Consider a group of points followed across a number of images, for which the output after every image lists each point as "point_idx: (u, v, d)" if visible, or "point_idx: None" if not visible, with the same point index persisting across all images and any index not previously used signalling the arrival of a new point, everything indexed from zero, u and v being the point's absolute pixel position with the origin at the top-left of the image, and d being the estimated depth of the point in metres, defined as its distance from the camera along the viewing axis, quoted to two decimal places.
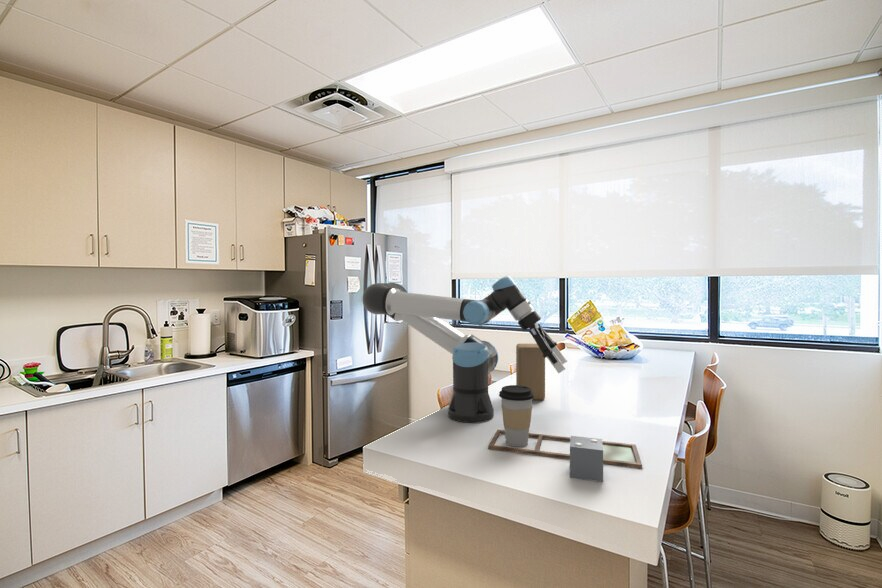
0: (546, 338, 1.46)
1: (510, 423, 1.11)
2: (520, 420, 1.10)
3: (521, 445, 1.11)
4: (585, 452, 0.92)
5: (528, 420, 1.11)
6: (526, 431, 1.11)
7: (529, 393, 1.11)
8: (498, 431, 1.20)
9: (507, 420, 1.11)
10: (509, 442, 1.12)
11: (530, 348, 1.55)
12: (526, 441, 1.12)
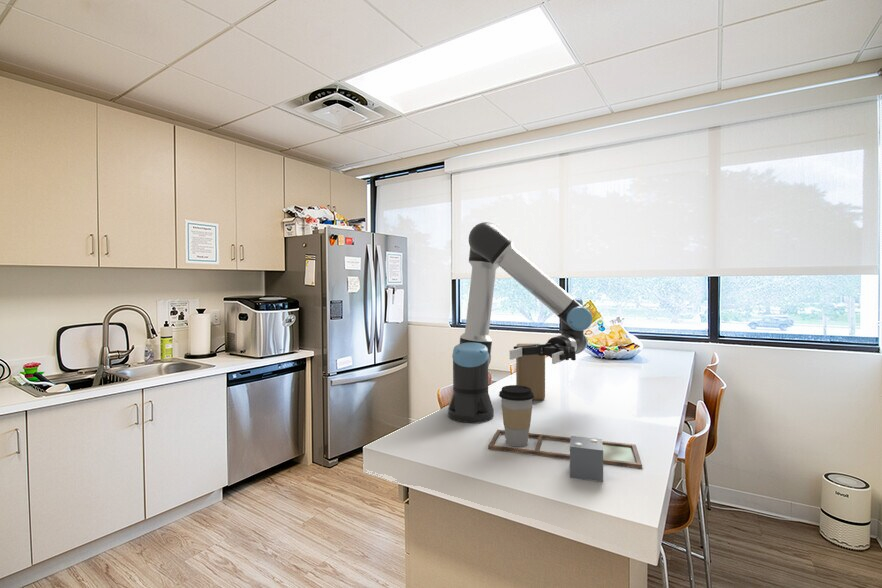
0: (535, 352, 1.32)
1: (510, 423, 1.11)
2: (520, 420, 1.10)
3: (521, 445, 1.11)
4: (585, 452, 0.92)
5: (528, 420, 1.11)
6: (526, 431, 1.11)
7: (529, 393, 1.11)
8: (498, 431, 1.20)
9: (507, 420, 1.11)
10: (509, 442, 1.12)
11: None
12: (526, 441, 1.12)
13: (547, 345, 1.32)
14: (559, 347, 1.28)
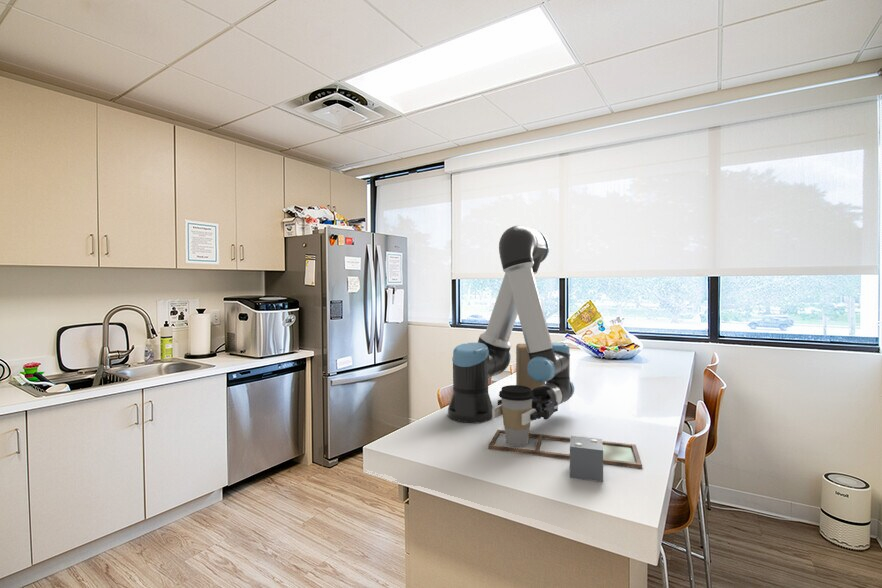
0: None
1: (510, 423, 1.11)
2: (520, 420, 1.10)
3: (521, 445, 1.11)
4: (585, 452, 0.92)
5: None
6: (526, 431, 1.11)
7: (529, 393, 1.11)
8: (498, 431, 1.20)
9: (507, 420, 1.11)
10: (509, 442, 1.12)
11: None
12: (526, 441, 1.12)
13: None
14: (538, 402, 1.18)
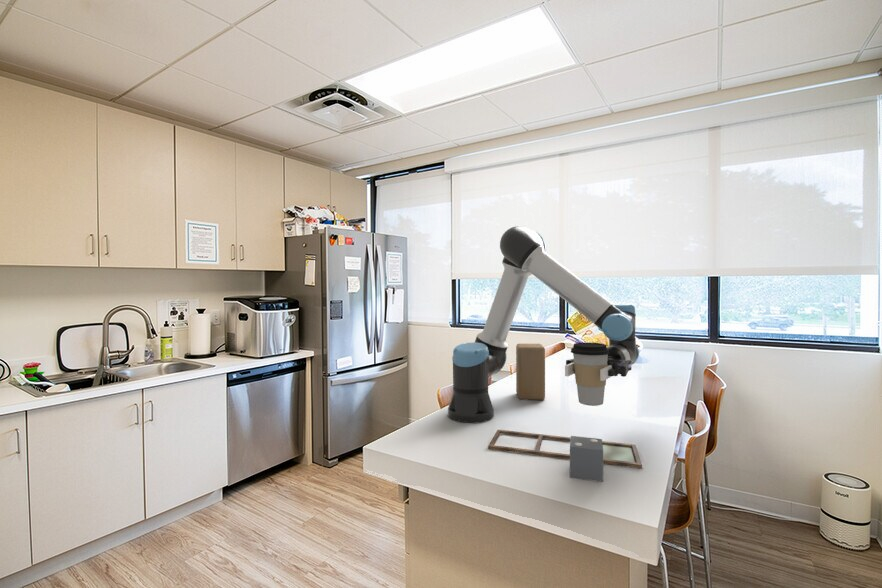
0: None
1: (585, 380, 1.04)
2: (596, 377, 1.03)
3: (597, 404, 1.04)
4: (585, 452, 0.92)
5: None
6: (602, 389, 1.04)
7: (605, 348, 1.04)
8: (498, 431, 1.20)
9: (582, 378, 1.04)
10: (584, 401, 1.05)
11: (530, 348, 1.55)
12: (602, 400, 1.05)
13: None
14: (611, 360, 1.11)
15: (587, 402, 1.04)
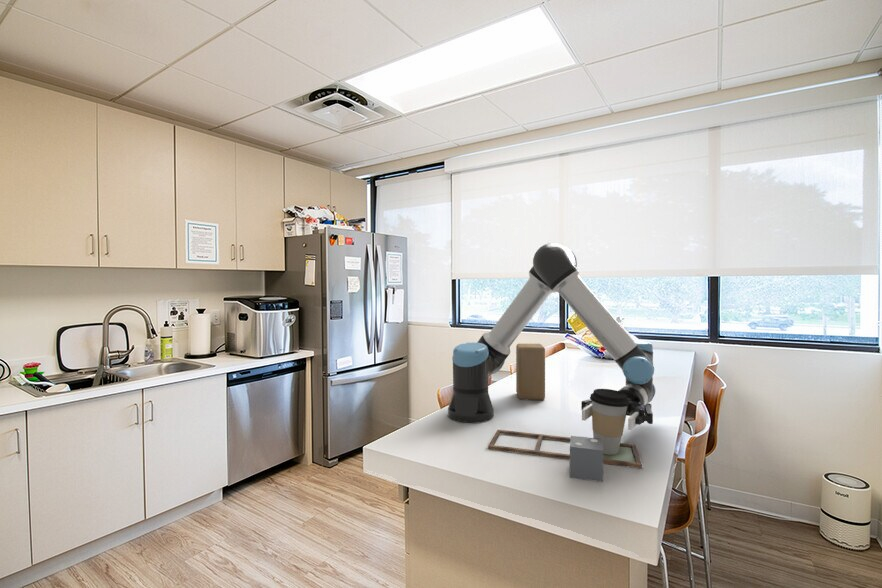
0: None
1: (603, 429, 1.04)
2: (615, 427, 1.03)
3: (613, 453, 1.04)
4: (585, 452, 0.92)
5: (622, 427, 1.04)
6: (619, 438, 1.04)
7: (626, 399, 1.04)
8: (498, 431, 1.20)
9: (600, 426, 1.04)
10: None
11: (530, 348, 1.55)
12: (618, 449, 1.05)
13: None
14: (632, 404, 1.10)
15: (603, 451, 1.05)
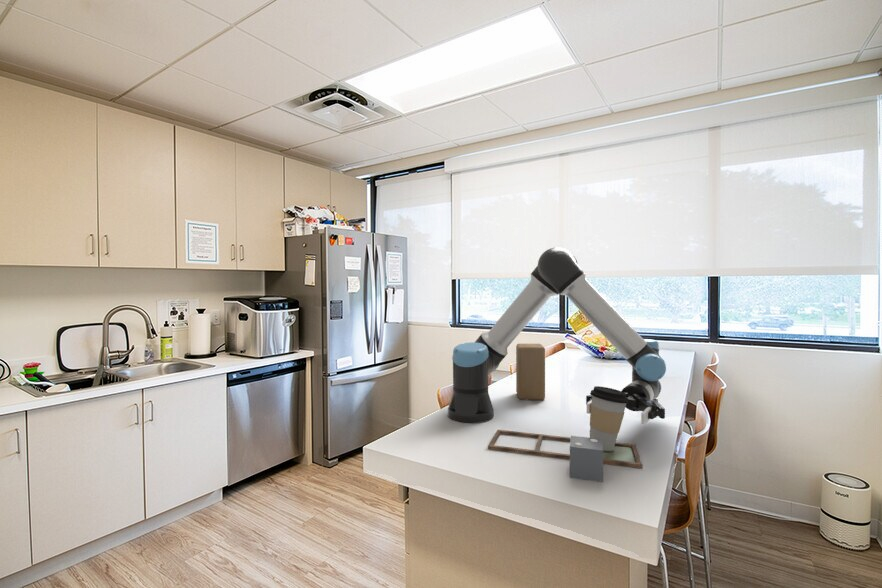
0: None
1: (600, 424, 1.06)
2: (611, 423, 1.05)
3: (608, 449, 1.06)
4: (585, 452, 0.92)
5: (619, 425, 1.06)
6: (615, 436, 1.06)
7: (625, 397, 1.06)
8: (498, 431, 1.20)
9: (597, 421, 1.06)
10: None
11: (530, 348, 1.55)
12: (613, 446, 1.07)
13: None
14: (641, 400, 1.13)
15: None
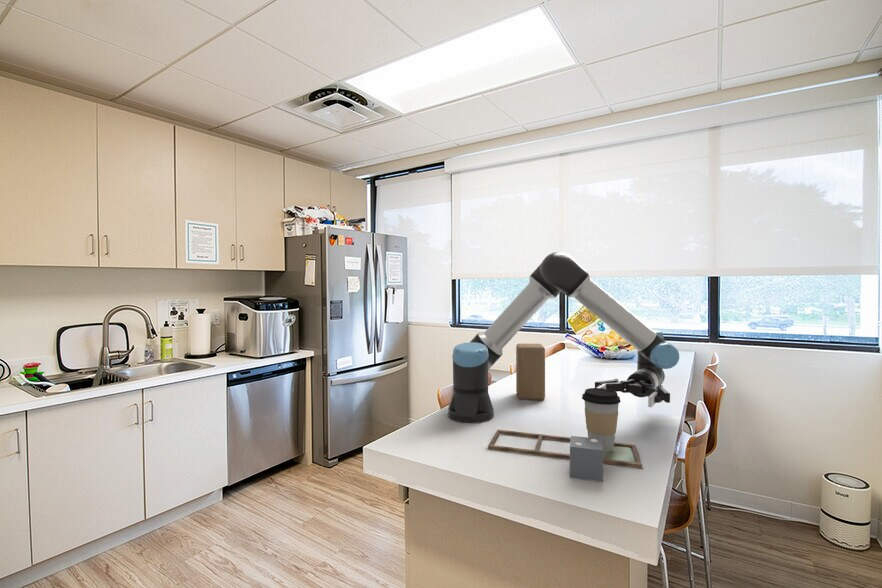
0: (618, 389, 1.24)
1: (595, 427, 1.06)
2: (606, 425, 1.05)
3: (607, 451, 1.06)
4: (585, 452, 0.92)
5: (615, 425, 1.06)
6: (612, 436, 1.06)
7: (616, 397, 1.06)
8: (498, 431, 1.20)
9: (592, 425, 1.06)
10: None
11: (530, 348, 1.55)
12: (612, 447, 1.07)
13: (631, 382, 1.25)
14: (647, 386, 1.20)
15: None
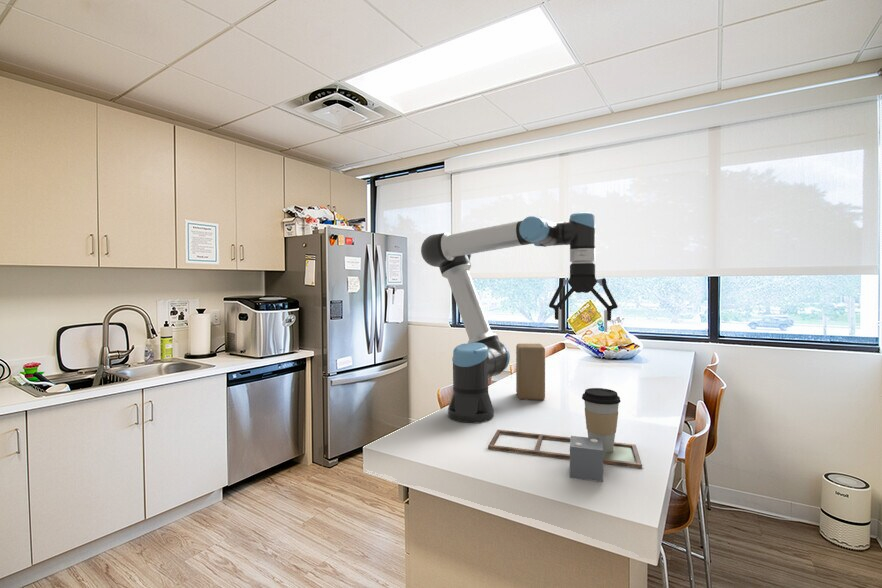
0: None
1: (595, 427, 1.06)
2: (606, 425, 1.05)
3: (607, 451, 1.06)
4: (585, 452, 0.92)
5: (615, 425, 1.06)
6: (612, 436, 1.06)
7: (616, 397, 1.06)
8: (498, 431, 1.20)
9: (592, 425, 1.06)
10: None
11: (530, 348, 1.55)
12: (612, 447, 1.07)
13: None
14: None
15: None
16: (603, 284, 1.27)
